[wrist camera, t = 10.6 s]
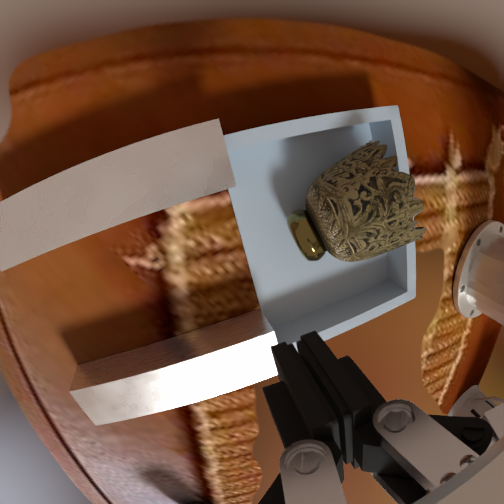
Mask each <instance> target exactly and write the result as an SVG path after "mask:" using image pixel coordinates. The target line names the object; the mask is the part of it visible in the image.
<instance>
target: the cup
mask: <svg viewBox="0 0 504 504" xmlns="http://www.w3.org/2000/svg"><path fill="white" fill-rule="evenodd" d="M372 141H373V140H370V141H369V143H368V142H367V143H366V145H365V144H364V145H365V146H364V145H363V146H361V147H360V148H358V149H357V150H355V151H354V152H352V153H350V154H349V155H347V156H346V157H344V158H343V159H341V160H340V161H338V162H337V163H335V164H334V165H332V166H331V167H329V168H328V169H326V170H325V171H324V172H323V173H321V174H320V175H319V176H318V177H317V178H316V179H315V180H314V181H313V182H312V183H311V185H310V187H309V188H308V191H307V193H306V199H305V205H306V210H304V209H299V210H294V211H292V212H291V213H290V215H289V216H288V217H287V226H288V229H289V231H290V233H291V235H292V237H293V239H294V241H295V243H296V245H297V247H298V249H299V251H300V253H301V254H302V256H303V257H304V258H305V259H306V260H307V261H319V260H320V259H321V258H322V257H323V256H324V255H325V253H326V251H328V252H329V253H330V254H331V255H332V256H333V257H335V258H336V259H339V260H341V261H345V262H357V261H362V260H366V259H370V258H373V257H376V256H378V255H381V254H384V253H386V252H389V251H392V250H394V249H397V248H399V247H402V246H404V245H406V244H409V243H411V242H414V241H416V240H419V239H422V238H423V237H422V236H421V235H422V234H423V233H425V231H426V229H425V228H424V227H415V226H416V224H417V222H416V223H415V221H414V220H413V217H415V216H416V215H417V214H418V213H419V212H421V211H422V210H423V207H424V203H423V202H422V201H421V200H420V199H417V198H415V199H413V198H414V192H415V181H414V178H413V177H412V176H411V175H409V174H407V173H405V172H399V171H396V169H395V168H394V167H396V166H397V165H398V157H397V155H394V156H390V157H387V158H383V157H384V156H385V154H386V152H387V145H386V144H384V145H378V144H379V143H380V141H375V142H372ZM371 142H372V143H371ZM376 145H377V146H376ZM382 158H383V159H382ZM393 168H394V169H395V170H394V169H393Z"/></svg>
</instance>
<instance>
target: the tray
mask: <svg viewBox="0 0 504 504" xmlns="http://www.w3.org/2000/svg"><path fill="white" fill-rule="evenodd" d="M223 136H224V140H225V144H226V148H227V152H228V155H229V159H230V163H231V167H232V171H233V175H234V178H235V182H236V187H233V188H229V189H228V191H229V195H230V199H231V203H232V206H233V210H234V214H235V217H236V221H237V225H238V229H239V232H240V236H241V240H242V243H243V247H244V251H245V254H246V258H247V262H248V265H249V269H250V273H251V276H252V280H253V284H254V287H255V291H256V295H257V298H258V302H259V306H260V309H261V310H262V312H263V314H264V315H265V317H266V318H267V320H268V322H269V323H270V325H271V326H272V328H273V330H274V332H275V336H276V339H277V343H278V344H279V343H282V342H286V343H287V345H288V344H291V343H292V344H293V345H294V347H295V348H296V350H297V352H298V349H297V345H296V342H297V341H299V340H301V339H300V336H301V335H304V334H307V333H309V332H312V331H314V330H315V331H316V332H317V333H318V334H319V335H320V337H321V338H322V339H323V341H325V340H327V339H330V338H332V337H334V336H336V335H338V334H341V333H343V332H345V331H348V330H350V329H352V328H354V327H356V326H358V325H361V324H363V323H365V322H367V321H369V320H371V319H373V318H375V317H377V316H379V315H381V314H384V313H385V312H388V311H390V310H392V309H393V308H396V307H398V306H400V305H402V304H403V303H405V302H407V301H409V300H411V299H413V298H415V297H416V255H415V241H414V242H411V243H409V244H406V245H404V246H402V247H399V248H397V249H394V250H392V251H389V252H386V253H384V254H381V255H378V256H376V257H373V258H370V259H366V260H362V261H357V262H345V261H341V260H339V259H336V258H335V257H333V256H332V255H331V254H330V253H329V252H328V251H326V253H325V255H324V256H323V257H322V258H321V259H320V260H319V261H307V260H306V259H305V258H304V257H303V256H302V254H301V253H300V251H299V249H298V247H297V245H296V243H295V241H294V239H293V237H292V235H291V233H290V231H289V229H288V226H287V217H288V216H289V215H290V213H291V212H292V211H294V210H299V209H304V210H306V205H305V199H306V193H307V191H308V188H309V187H310V185H311V183H312V182H313V181H314V180H315V179H316V178H317V177H318V176H319V175H320V174H321V173H323V172H324V171H325V170H326V169H328V168H329V167H331V166H332V165H334V164H335V163H337V162H338V161H340V160H341V159H343V158H344V157H346V156H347V155H349V154H350V153H352V152H354V151H355V150H357V149H358V148H360V147H361V146H363V145H364V144H365V145H366V143H367V142H368V143H369V141H370V140H373V141H372V142H375V141H380V143H379V144H378V145H384V144H386V145H387V152H386V154H385V156H384V157H383V158H387V157H390V156H394V155H397V157H398V165H397V166H396V167H394V168H395V169H396V171H399V172H405V173H407V174H409V167H408V160H407V153H406V147H405V141H404V135H403V129H402V124H401V119H400V114H399V109H398V105H396V106H386V107H376V108H367V109H359V110H351V111H344V112H337V113H330V114H324V115H318V116H312V117H306V118H301V119H295V120H290V121H285V122H280V123H275V124H270V125H266V126H261V127H257V128H252V129H248V130H244V131H239V132H235V133H231V134H227V135H223ZM372 142H371V143H372ZM365 145H364V146H365ZM376 146H377V145H376ZM383 158H382V159H383ZM394 168H393V169H394ZM395 169H394V170H395ZM413 220H414V217H413Z"/></svg>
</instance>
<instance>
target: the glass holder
mask: <svg viewBox="0 0 504 504" xmlns="http://www.w3.org/2000/svg"><path fill="white" fill-rule="evenodd" d="M492 400H493V401H496V402H499V403H503V402H504V399H501V398H498V397H495V396H492V397H487V396H486V395H485V394H483V393H482V392H481V391H480V389H479V386H478V385H474V386H472V387H470V388H469V389H468V390H467V391H465V392H464V393H463V394H462V395H461V396H460V398H459V399H458V400H457V401H456V402H455V404H454V405H453V406H452V408H451V409H450V411H449V413H448V415H447V416H460V417H478V418H480V417H482V416H483V414H484V413H485V412H487V411H489V410H491V409H492V408H494V407H496V406H498V405H497V404H495V403H494V402H493V401H492Z"/></svg>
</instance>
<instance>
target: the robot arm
mask: <svg viewBox="0 0 504 504" xmlns="http://www.w3.org/2000/svg"><path fill="white" fill-rule="evenodd" d="M453 300H454V305H455V307H456V310H457V311H458V312H459V313H460V314H461V315H463V316H464V317H466V318H474V317H476V316H478V315H480V314H481V313H484V314H485V315H487V316H489V317H490V318H492V319H494V320H495V321H497V322H498V323H500V324H502V325H503V326H504V224H503V223H501V222H499V221H495V220H488V221H486V222H484V223H482V224H481V225H480V226H479V227H478V228H477V229H476V230H475V231H474V233H473V234H472V235H471V237H470V239H469V240H468V242H467V244H466V246H465V248H464V250H463V252H462V255H461V257H460V260H459V263H458V266H457V269H456V274H455V279H454V286H453ZM300 339H301V340H299V341H297V342H296V345H297V349H298V352H297V350H296V348H295V347H294V345H293V344H292V343H291V344H288V345H287V343H286V342H282V343H279V344H276V345H273V346H270V348H271V352H272V356H273V359H274V363H275V366H276V370H277V373H278V377H279V380H280V382H278V383H275V384H272V385H269V386H266V387H263V388H262V389H263V392H264V395H265V398H266V401H267V403H268V406H269V409H270V412H271V414H272V417H273V420H274V422H275V425H276V427H277V430H278V432H279V435H280V437H281V440H282V443H283V445H284V448H285V450H284V451H283V453H282V455H281V457H280V463H279V466H280V473H279V475H278V476H277V478H276V479H275V481H274V482H273V484H272V485H271V487H270V488H269V489H268V491H267V492H266V494H265V495H264V496H263V498H262V499H261V501H260V502H259V503H258V504H347V502H346V499H345V495H344V492H343V489H342V486H341V484H342V482H343V480H344V471H343V461H344V462H345V464H348V463H351V464H352V466H353V467H354V469H356V468H358V467H360V468H361V470H362V471H366V472H370V473H371V474H372V476H373V477H374V479H375V480H376V481H377V482H378V483H379V484H380V485H381V486H382V487H383V488H384V489H385V490H386V491H387V493H388V494H389V495H390V496H391V497H392V498H393V499H394V500H395V501H396V502H397V503H398V504H504V402H503V403H502V404H500V405H498V406H496V407H494V408H492V409H491V410H489V411H487V412H485V413H484V414H483V416H482V417H480V418H478V417H460V416H440V415H427V414H426V413H425V412H423V411H422V410H421V409H420V408H418V407H417V406H416V405H415V404H413V403H411V402H410V401H407V400H403V399H398V400H397V399H395V400H391V401H388V402H386V401H385V399H384V398H383V397H382V396H381V394H380V393H379V392H378V391H377V390H376V388H375V387H374V386H373V385H372V383H371V382H370V381H369V380H368V379H367V377H366V376H365V375H364V374H363V372H362V371H361V370H360V369H359V367H358V366H357V365H356V364H355V363H354V361H353V360H352V359H351V358H350V357H349V356H345V357H342V358H340V359H337V358H336V356H335V355H334V354H333V353H332V351H331V350H330V349H329V347H328V346H327V345H326V344H325V342H324V341H323V339H322V338H321V337H320V335H319V334H318V333H317V332H316V331H315V330H314V331H312V332H309V333H307V334H304V335H301V336H300Z"/></svg>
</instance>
